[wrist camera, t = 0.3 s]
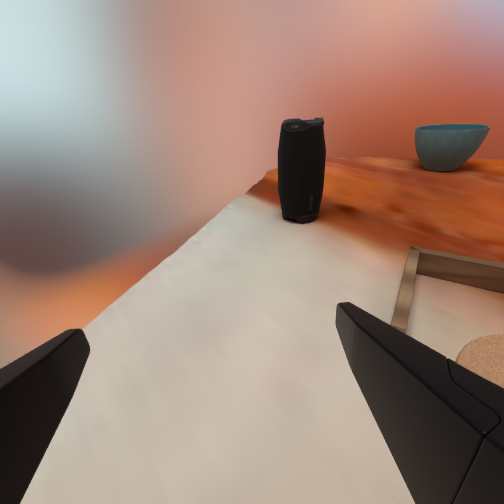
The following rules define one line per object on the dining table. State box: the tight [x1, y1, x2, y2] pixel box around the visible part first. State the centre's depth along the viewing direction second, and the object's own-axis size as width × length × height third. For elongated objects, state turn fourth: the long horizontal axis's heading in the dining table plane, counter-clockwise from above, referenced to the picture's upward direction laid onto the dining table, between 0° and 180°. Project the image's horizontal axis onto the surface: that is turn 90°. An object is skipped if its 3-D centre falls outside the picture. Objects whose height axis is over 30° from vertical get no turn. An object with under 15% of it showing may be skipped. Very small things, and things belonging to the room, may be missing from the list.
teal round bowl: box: [415, 124, 490, 171], centre depth 81 cm, size 18×18×12 cm
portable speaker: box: [278, 118, 326, 224], centre depth 53 cm, size 9×9×20 cm
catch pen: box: [391, 246, 504, 333], centre depth 27 cm, size 17×18×4 cm
